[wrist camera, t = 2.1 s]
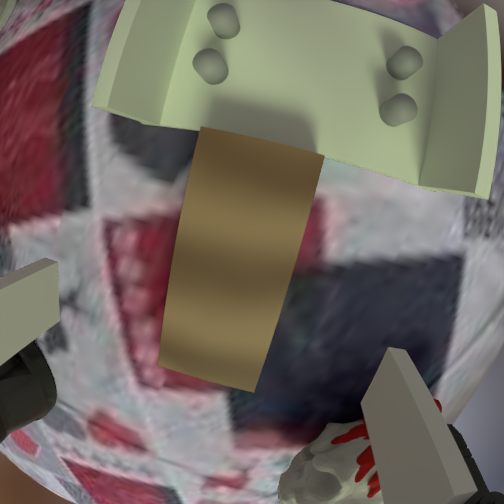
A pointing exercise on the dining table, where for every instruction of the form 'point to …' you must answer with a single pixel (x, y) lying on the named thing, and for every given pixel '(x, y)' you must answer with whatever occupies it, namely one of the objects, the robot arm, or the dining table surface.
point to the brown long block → (235, 254)
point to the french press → (6, 11)
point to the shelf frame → (316, 83)
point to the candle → (334, 468)
